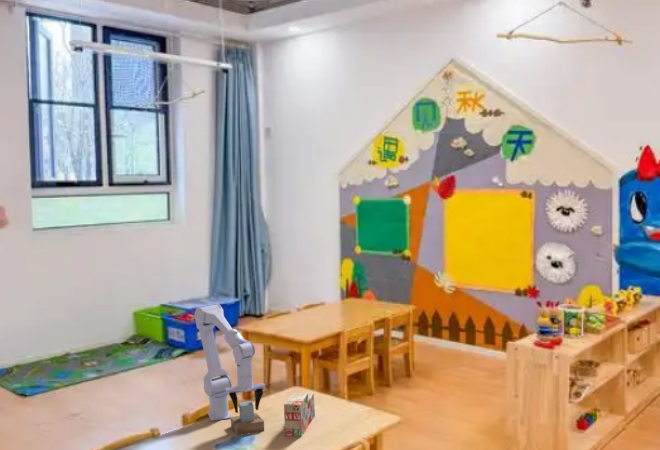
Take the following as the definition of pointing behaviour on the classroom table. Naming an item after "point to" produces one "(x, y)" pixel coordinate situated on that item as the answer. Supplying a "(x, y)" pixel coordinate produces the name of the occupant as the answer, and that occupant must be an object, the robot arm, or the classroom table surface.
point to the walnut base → (247, 425)
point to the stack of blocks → (298, 413)
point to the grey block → (246, 411)
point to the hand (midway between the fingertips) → (246, 410)
